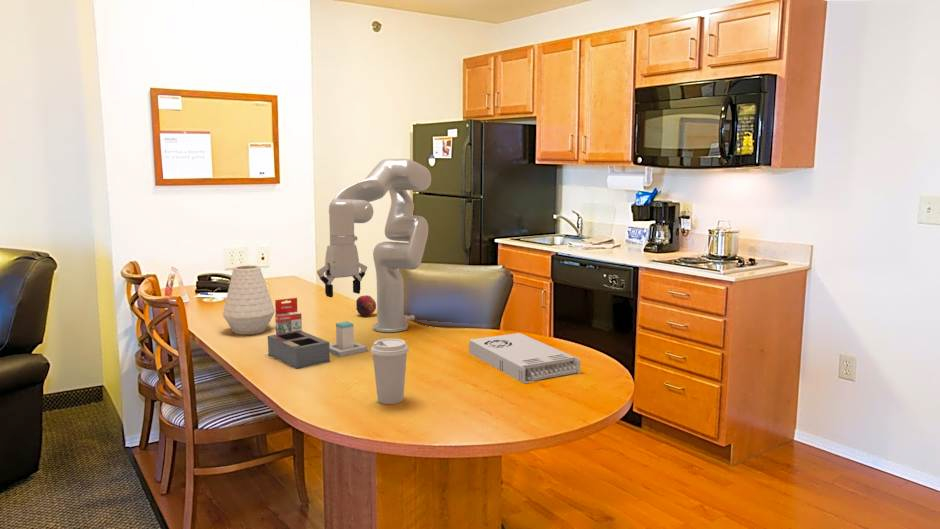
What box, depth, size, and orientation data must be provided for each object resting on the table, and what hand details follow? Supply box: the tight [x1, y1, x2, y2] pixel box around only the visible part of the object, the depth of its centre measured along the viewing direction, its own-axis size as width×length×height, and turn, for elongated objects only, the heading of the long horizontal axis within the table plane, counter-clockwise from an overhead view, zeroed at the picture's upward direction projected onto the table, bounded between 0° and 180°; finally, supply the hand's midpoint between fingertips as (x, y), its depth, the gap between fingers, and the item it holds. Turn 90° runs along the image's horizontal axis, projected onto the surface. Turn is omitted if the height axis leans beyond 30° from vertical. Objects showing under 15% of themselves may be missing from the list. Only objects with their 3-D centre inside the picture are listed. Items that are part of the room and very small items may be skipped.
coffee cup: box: [370, 338, 410, 405], centre depth 167 cm, size 10×10×15 cm
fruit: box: [355, 294, 377, 317], centre depth 259 cm, size 8×8×8 cm
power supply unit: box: [468, 332, 581, 384], centre depth 199 cm, size 19×33×5 cm, turn 28°
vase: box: [222, 264, 276, 336], centre depth 234 cm, size 17×17×23 cm
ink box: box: [274, 297, 303, 335], centre depth 221 cm, size 4×8×15 cm, turn 123°
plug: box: [335, 320, 355, 350], centre depth 211 cm, size 4×4×9 cm
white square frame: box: [329, 341, 368, 358], centre depth 212 cm, size 10×10×2 cm
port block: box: [267, 330, 331, 370], centre depth 204 cm, size 11×19×6 cm, turn 41°
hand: (343, 294), depth 209 cm, fingers open, 9 cm apart
